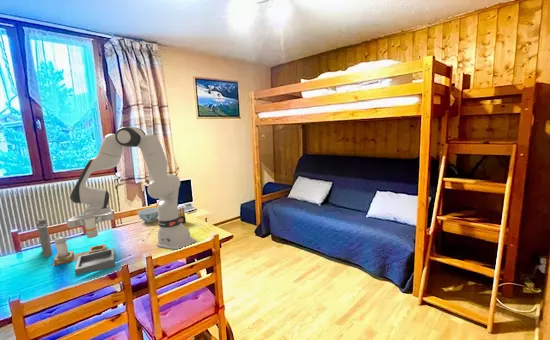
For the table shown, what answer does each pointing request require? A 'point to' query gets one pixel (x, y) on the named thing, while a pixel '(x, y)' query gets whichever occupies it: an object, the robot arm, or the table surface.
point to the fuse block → (74, 257)
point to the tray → (95, 261)
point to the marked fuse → (90, 224)
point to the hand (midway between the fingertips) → (90, 223)
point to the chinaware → (148, 214)
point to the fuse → (61, 247)
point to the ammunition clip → (182, 215)
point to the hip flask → (44, 237)
